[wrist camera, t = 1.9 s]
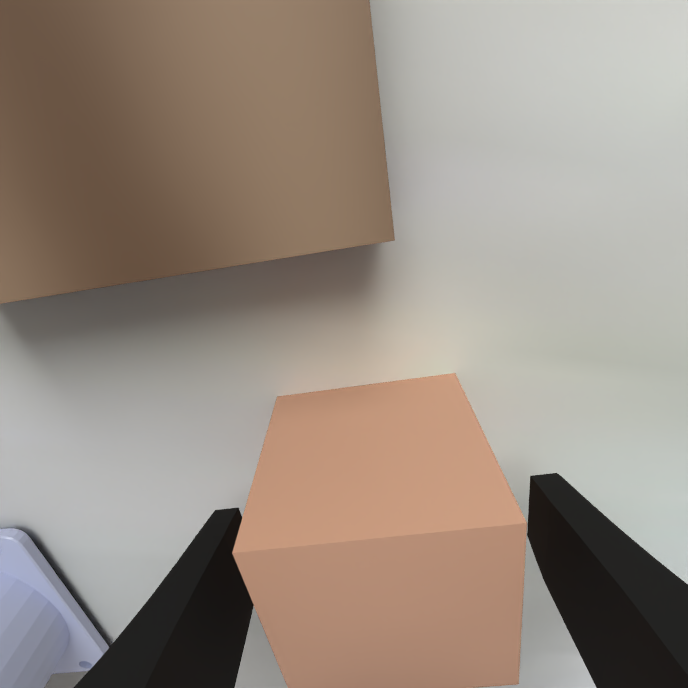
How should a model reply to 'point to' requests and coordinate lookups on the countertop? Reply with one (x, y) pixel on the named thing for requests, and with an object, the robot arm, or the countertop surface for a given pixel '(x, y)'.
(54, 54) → the walnut base
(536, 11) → the countertop surface
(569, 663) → the countertop surface
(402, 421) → the terracotta cube
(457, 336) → the countertop surface
